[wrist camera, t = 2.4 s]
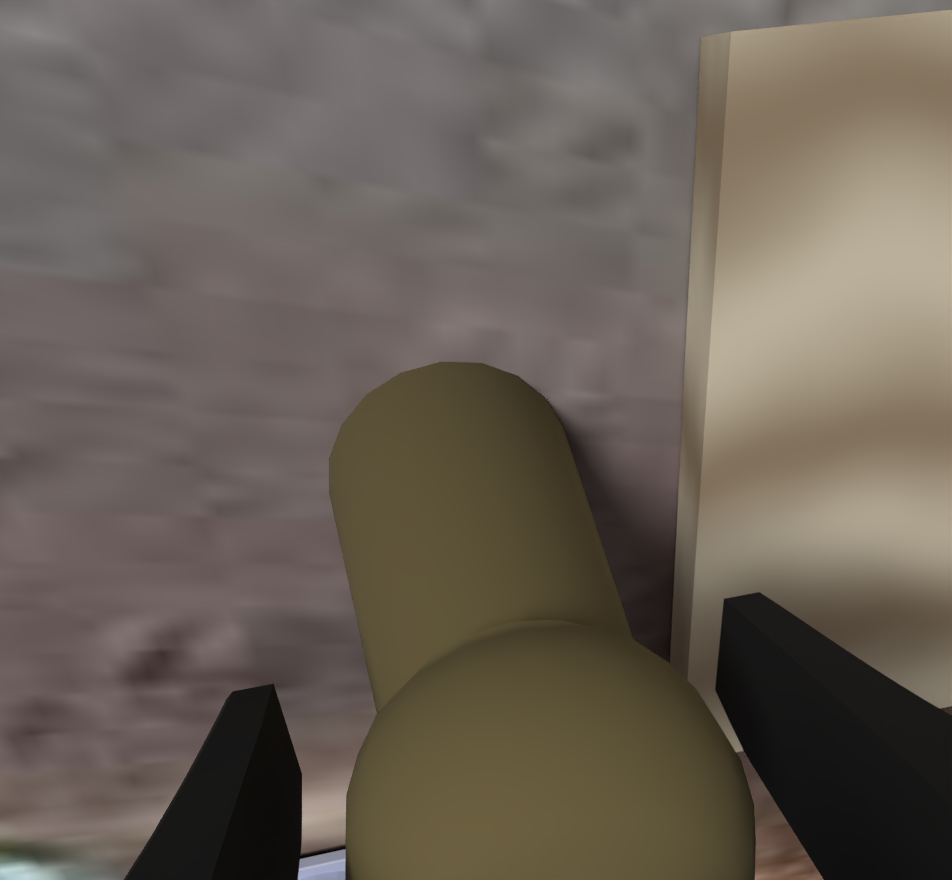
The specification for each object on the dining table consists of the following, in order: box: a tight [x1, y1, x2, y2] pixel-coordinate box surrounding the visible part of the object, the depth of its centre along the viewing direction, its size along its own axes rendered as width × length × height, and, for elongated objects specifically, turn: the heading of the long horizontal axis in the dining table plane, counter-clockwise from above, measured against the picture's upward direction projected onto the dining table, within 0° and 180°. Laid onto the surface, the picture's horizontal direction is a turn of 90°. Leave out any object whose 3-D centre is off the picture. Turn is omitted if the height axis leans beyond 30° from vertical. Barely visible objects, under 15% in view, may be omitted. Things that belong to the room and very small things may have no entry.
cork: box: [329, 362, 756, 880], centre depth 12 cm, size 6×6×11 cm
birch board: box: [670, 10, 952, 752], centre depth 18 cm, size 20×14×1 cm
